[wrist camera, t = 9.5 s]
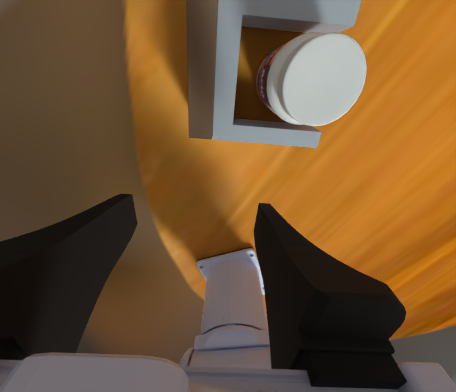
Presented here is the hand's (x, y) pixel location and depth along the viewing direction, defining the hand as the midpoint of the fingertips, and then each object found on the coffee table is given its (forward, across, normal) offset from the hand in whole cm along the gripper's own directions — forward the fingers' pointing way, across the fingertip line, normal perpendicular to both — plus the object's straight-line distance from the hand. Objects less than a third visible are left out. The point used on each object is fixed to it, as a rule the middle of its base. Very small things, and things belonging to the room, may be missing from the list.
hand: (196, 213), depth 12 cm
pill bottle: (+10, -6, -7) cm, 14 cm away
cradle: (+10, -5, -7) cm, 13 cm away
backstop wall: (+10, 0, -8) cm, 12 cm away
